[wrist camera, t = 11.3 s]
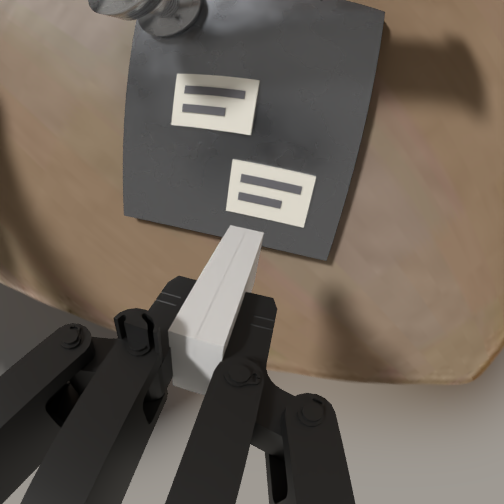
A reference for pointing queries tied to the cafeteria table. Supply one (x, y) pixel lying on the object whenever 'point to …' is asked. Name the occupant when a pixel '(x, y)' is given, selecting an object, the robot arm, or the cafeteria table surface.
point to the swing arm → (124, 8)
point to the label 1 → (215, 102)
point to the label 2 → (269, 192)
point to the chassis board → (266, 112)
